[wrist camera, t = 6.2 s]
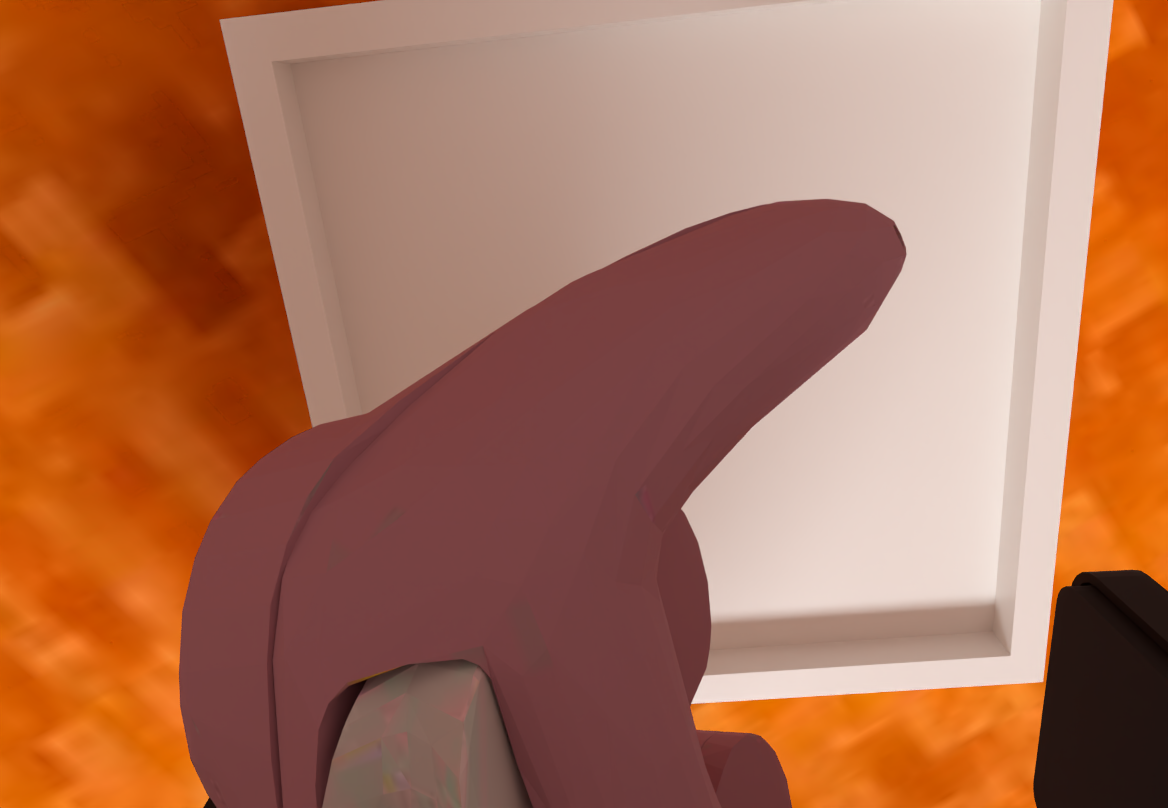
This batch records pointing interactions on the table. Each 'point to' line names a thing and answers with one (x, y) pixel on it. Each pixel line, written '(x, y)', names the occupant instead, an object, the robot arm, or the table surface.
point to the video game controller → (520, 544)
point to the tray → (703, 192)
